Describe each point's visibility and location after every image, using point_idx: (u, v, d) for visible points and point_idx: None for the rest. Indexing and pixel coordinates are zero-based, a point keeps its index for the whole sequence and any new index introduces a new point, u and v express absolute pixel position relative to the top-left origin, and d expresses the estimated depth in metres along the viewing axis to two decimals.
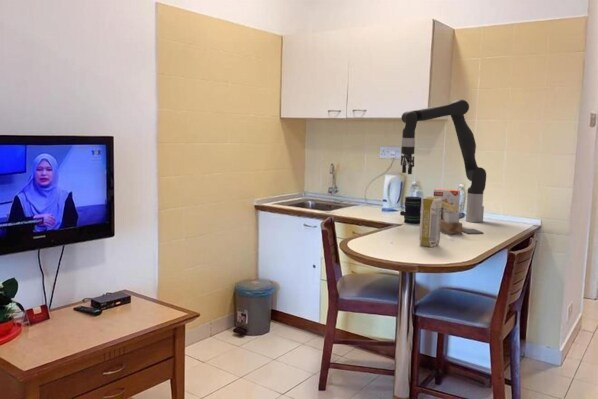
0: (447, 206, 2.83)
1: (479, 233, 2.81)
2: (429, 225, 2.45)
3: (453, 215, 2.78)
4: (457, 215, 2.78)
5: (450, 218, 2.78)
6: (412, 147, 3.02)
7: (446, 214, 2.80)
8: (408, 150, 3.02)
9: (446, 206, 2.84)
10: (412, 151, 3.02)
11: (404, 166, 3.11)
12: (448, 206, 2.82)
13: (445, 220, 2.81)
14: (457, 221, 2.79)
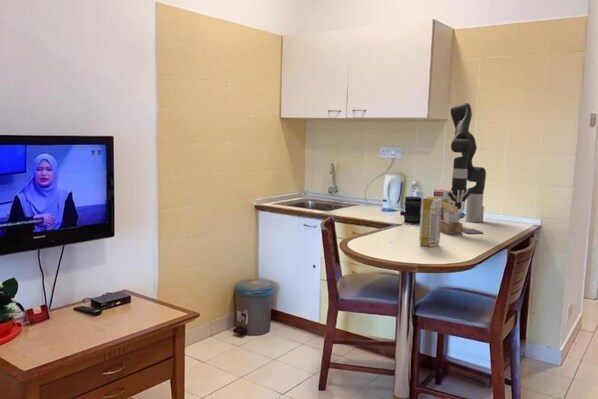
0: (447, 206, 2.83)
1: (479, 233, 2.81)
2: (429, 225, 2.45)
3: (453, 215, 2.78)
4: (457, 215, 2.78)
5: (450, 218, 2.78)
6: None
7: (446, 214, 2.80)
8: None
9: (446, 206, 2.84)
10: None
11: None
12: (448, 206, 2.82)
13: (445, 220, 2.81)
14: (457, 221, 2.79)
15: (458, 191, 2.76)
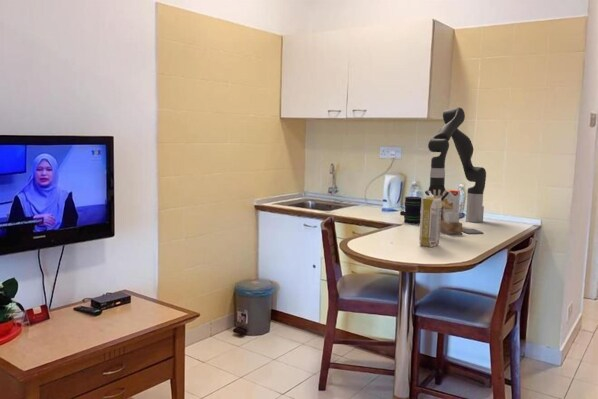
0: None
1: (479, 233, 2.81)
2: (429, 225, 2.45)
3: (453, 215, 2.78)
4: (457, 215, 2.78)
5: (450, 218, 2.78)
6: None
7: (446, 214, 2.80)
8: (444, 181, 2.76)
9: None
10: None
11: None
12: None
13: (445, 220, 2.81)
14: (457, 221, 2.79)
15: (434, 190, 2.78)
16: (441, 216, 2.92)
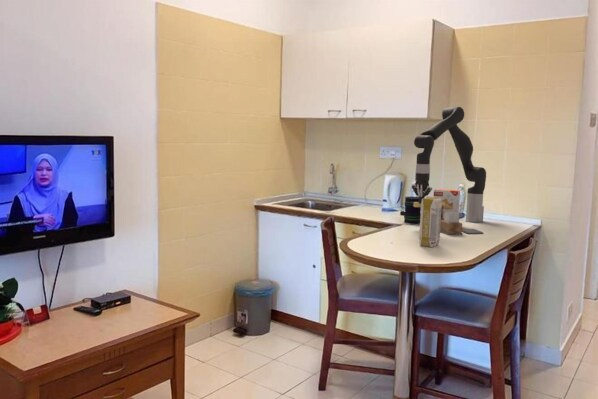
0: None
1: (479, 233, 2.81)
2: (429, 225, 2.45)
3: (453, 215, 2.78)
4: (457, 215, 2.78)
5: (450, 218, 2.78)
6: (429, 174, 2.83)
7: (446, 214, 2.80)
8: (425, 177, 2.82)
9: None
10: None
11: None
12: None
13: (445, 220, 2.81)
14: (457, 221, 2.79)
15: (417, 185, 2.86)
16: None
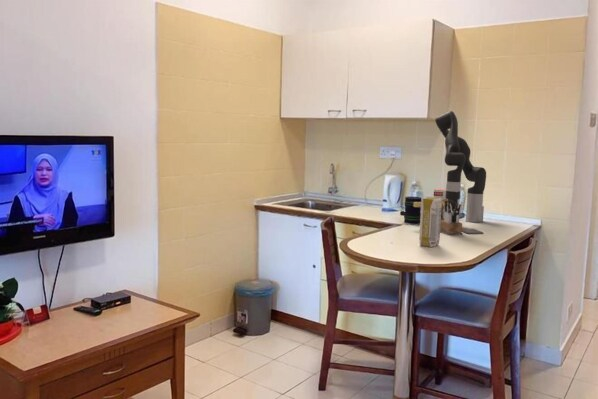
0: None
1: (479, 233, 2.81)
2: (429, 225, 2.45)
3: None
4: (457, 215, 2.78)
5: (450, 218, 2.78)
6: None
7: (446, 214, 2.80)
8: None
9: None
10: None
11: None
12: None
13: (445, 220, 2.81)
14: (457, 221, 2.79)
15: None
16: None
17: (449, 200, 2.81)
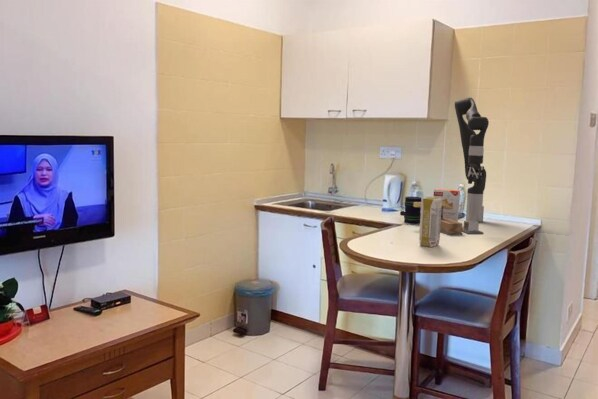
0: None
1: (479, 233, 2.81)
2: (429, 225, 2.45)
3: (473, 224, 2.82)
4: (477, 224, 2.83)
5: (470, 227, 2.82)
6: None
7: (466, 223, 2.84)
8: None
9: None
10: None
11: None
12: None
13: (465, 229, 2.85)
14: (477, 230, 2.83)
15: None
16: None
17: (472, 165, 2.81)
